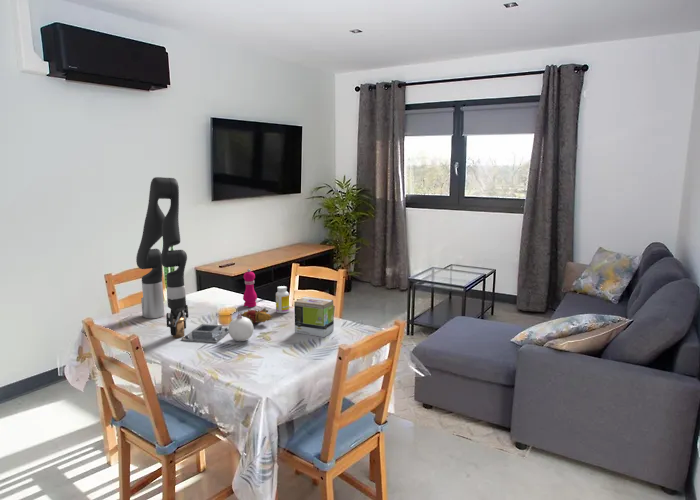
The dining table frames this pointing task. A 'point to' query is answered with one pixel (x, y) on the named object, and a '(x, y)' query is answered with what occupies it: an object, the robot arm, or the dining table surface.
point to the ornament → (240, 328)
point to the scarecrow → (257, 315)
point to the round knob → (179, 328)
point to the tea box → (314, 316)
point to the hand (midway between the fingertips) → (178, 331)
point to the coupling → (207, 334)
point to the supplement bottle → (282, 300)
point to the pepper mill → (249, 289)
